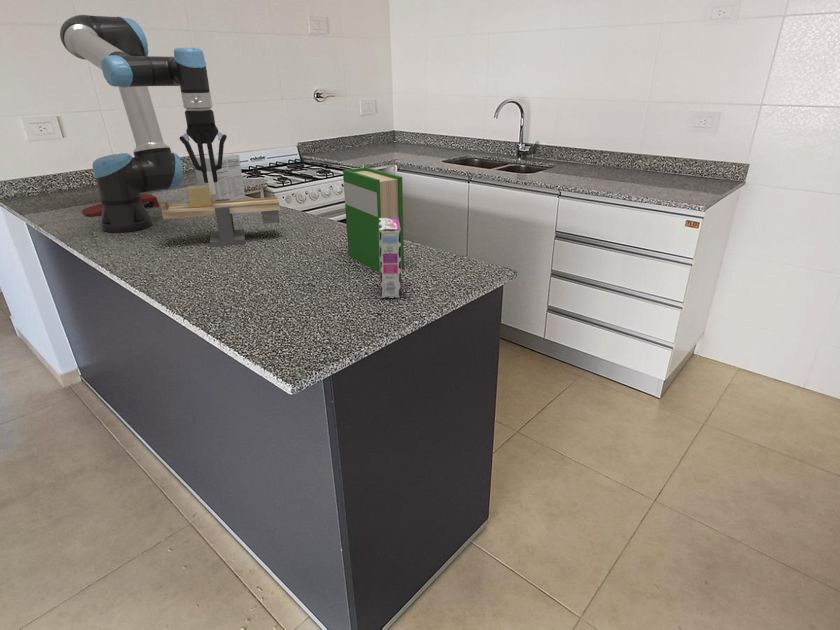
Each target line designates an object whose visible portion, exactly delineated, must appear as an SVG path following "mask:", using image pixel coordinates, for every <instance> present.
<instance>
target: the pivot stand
mask: <svg viewBox="0 0 840 630" xmlns="http://www.w3.org/2000/svg"><path fill="white" fill-rule="evenodd" d="M226 200H230V199H218V200H216V201H226ZM215 214H216V215H215V218H216V224H217V230H215V231H211V232H210V233H211V234H210V240H209V246H210V248H213V247H214V248H215V247H226V246H227V245H228V246H238V245H239V246H240V245H246V231H245V228H237V229H235V223H234V217H233V214H230V209H229V207H216V208H215Z"/></svg>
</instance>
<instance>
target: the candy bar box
mask: <svg viewBox="0 0 840 630" xmlns="http://www.w3.org/2000/svg"><path fill="white" fill-rule="evenodd" d="M379 257H380V274H379V281H380V282H379V285H380V298H381V299H382V298H389V297H401V298H402V269H401V229H400V224H399V219H398V218H379Z"/></svg>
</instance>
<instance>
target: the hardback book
mask: <svg viewBox="0 0 840 630" xmlns="http://www.w3.org/2000/svg"><path fill="white" fill-rule="evenodd" d="M342 177H343V194H344V207H345V221H346V223H345V224H346V239H347V256H348V257H349V256H350V257H351V258H350V257H349V258H350V259H352V258H353V259H352V260H354V259H355V260H354V261H356V260H357V261H359V262H360V263H359V262H358V263H359V264H361V263H362V264H361V265H363V264H364V265H363V266H365V265H366V266H368V267H370V268H371V269H370V268H369V269H370V270H372V269H373V270H375V271H377V272H379V273H380V257H379V218H398V219H399V224H400V229H401V268H404V269H405V259H404V258H405V256H404V253H405V250H404V244H405V243H404V202H403V201H404V197H403V195H404V194H403V176H402V175H398V174H393V173H389V172H386V171H383V170H382V171H381V170H380V169H379V170H378V169H374V168H372V167H359V168H351V169H349V168H348V169H342ZM357 261H356V262H357ZM366 266H365V267H366ZM368 267H367V268H368ZM373 270H372V271H373ZM375 271H374V272H375ZM377 272H376V273H377ZM379 273H378V274H379Z"/></svg>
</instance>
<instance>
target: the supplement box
mask: <svg viewBox="0 0 840 630" xmlns="http://www.w3.org/2000/svg"><path fill="white" fill-rule="evenodd" d="M218 153H219V152H213V154H214V160H215V165H218ZM204 156H205V162H206V167H207V171H211V165H210V159H209V153H208V154H207V153H206V154H204ZM195 157H196V159H197V161H198V164H199V166H201V162H200V156H199V155H195ZM193 167H194V166H193ZM194 172H195V173H194V175H195V177H196V178H195V179H196V184H197V185H196V186H198V185H209V183H205V182H204V178H203V173H202V171H199V170H196V169H195V167H194ZM216 172H217V178H218V181H217V182H214V184H215V190H216V194H213V195H212V201H216V200H218V199H230V200H240V199H246V195H245V194H246V193H245V188H244V180H243V174H242V173H243V172H242V166H241V159H240V154H233V153H232V154H231V153H224V152H223V159H222V168H221V169H219V170H217V171H216Z"/></svg>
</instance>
